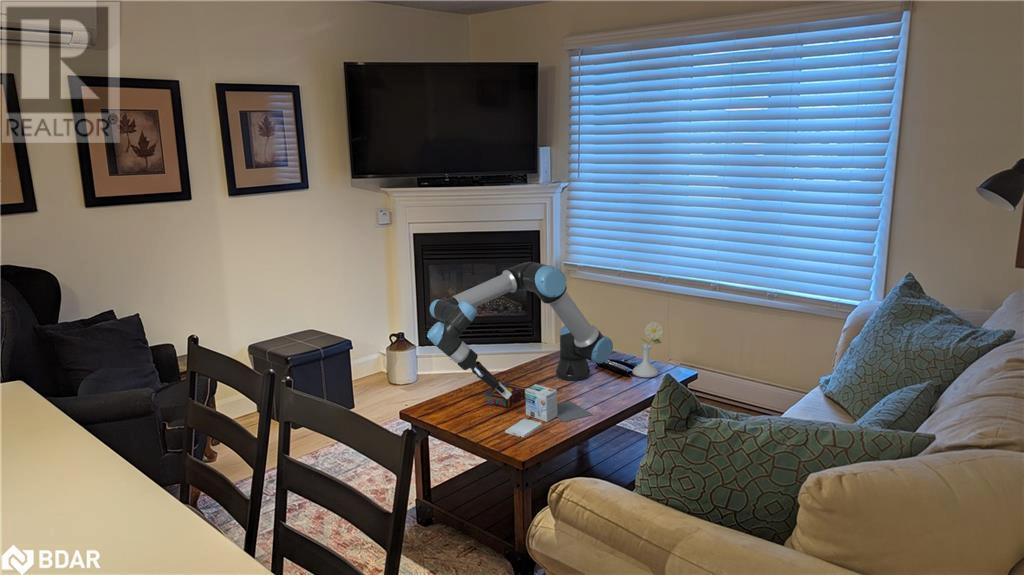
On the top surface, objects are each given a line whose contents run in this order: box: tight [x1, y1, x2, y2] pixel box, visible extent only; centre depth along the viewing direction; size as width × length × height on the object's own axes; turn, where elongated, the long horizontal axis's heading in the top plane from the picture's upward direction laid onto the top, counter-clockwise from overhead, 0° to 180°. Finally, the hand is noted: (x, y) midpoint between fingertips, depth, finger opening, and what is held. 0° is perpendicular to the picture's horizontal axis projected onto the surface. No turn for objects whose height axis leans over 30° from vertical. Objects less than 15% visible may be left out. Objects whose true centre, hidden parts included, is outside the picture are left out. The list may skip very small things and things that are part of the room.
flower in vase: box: [631, 321, 664, 379], centre depth 304 cm, size 13×11×25 cm
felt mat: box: [556, 400, 594, 423], centre depth 268 cm, size 13×16×1 cm
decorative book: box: [483, 382, 528, 409], centre depth 279 cm, size 11×16×5 cm
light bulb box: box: [525, 383, 558, 423], centre depth 262 cm, size 11×7×11 cm, turn 48°
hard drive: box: [504, 418, 543, 438], centre depth 252 cm, size 2×8×12 cm
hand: (509, 396), depth 258 cm, fingers closed
